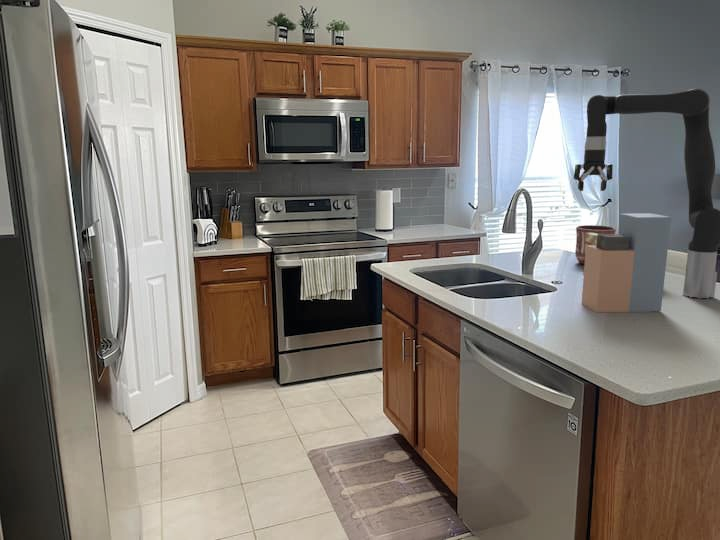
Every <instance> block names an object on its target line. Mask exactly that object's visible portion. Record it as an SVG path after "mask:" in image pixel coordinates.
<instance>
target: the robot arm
mask: <svg viewBox="0 0 720 540" xmlns="http://www.w3.org/2000/svg"><path fill="white" fill-rule="evenodd" d="M710 101H711V100H710V95H709V94H708V93H707V92H706V90H703V89H701V88H691V89H688V90H684V91H680V92H674V93H664V94H663V93H662V94H661V93H659V94H658V93H657V94H653V93H651V94H650V93H634V94H632V93H631V94H628V93H627V94H620V95H610V96H609V95H601V94H595V95H592V96H591V97H590V98H589V99H588V102H587V106H586V119H587V125H586V126H587V127H586V138H585V143H584V154H583V155H584V157H583V164H580V163H576V164H575V167H574V172H573V180H576V181H577V182H578V185H577V189H578V190H579V192H583V191H584V188H585V187H584V184H585V179H586V178H587V177H589V176H597V177H599V178H600V179H601V181H600V192H604V191H605V190H606V189H607V183H608V181H611V180H612V179H613V171H614V170H613V168H614V167H613V164H612V163H607V164H605V161H606V152H607V151H606V149H607V132H608V131H607V129H608V123H607V121H606V117H607V115H614V114H617V115H619V114H620V115H635V114H636V115H638V114H640V115H641V114H651V113H672V114H679V115H682V119H683V125H684V131H685V137H684V145H683V147H684V148H683V149H684V151H683V152H684V153H683V154H684V157H683V159H684V166H685V167H684V169H685V174H686V176H685V177H686V184H687V190H688V222H689V224H690V227H692V229H693V233H692V235H693V236H692V239H691V241H689V242H688V247H687V254H686V265H685V273H684V280H683V281H684V282H683V289H682V295H683V296H684V297H688V296H689V298H692V297H697V298H696V299H702V298H706V299H710V298H709V297H711V298H715V295H716V294H715V293H716V286H717V277H718V272H717V271H716V265H717V256H718V250H719V246H720V210H719V209H718V208H715V207H714V205H713V204H714V203H713V197H712V187H713V183H714V180H715V175H716V158H715V157H716V156H715V151H714V144H713V139H712V134H711V131H710V122H709V121H710V120H709V119H710V117H709V116H710V114H709V113H710V103H711V102H710ZM582 169H583V171H582ZM603 170H606V173H605V172H604V171H603ZM581 171H582V173H581Z"/></svg>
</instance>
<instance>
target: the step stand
mask: <svg viewBox="0 0 720 540" xmlns="http://www.w3.org/2000/svg"><path fill="white" fill-rule="evenodd" d="M671 220H672V217H671V216H669V215H667V216H666V215H662V214H661V215H660V214H656V213H649V212H648V213H643V212H642V213H641V212H640V213H619V220H618V221H619V222H618V229H617V230H618V231H617V232H618V233H617V234H622V235H625V236H629V248H628V250H602V249H599V248H596V246H597V245H586V253H585V265H583V267H584V268H583V269H584V270H583V278H582V279H583V281H582V293H581V295H582V296H581V304H582V305H584V306H585V307H587V308H589V309H590V310H592V311H594V312H595V313H646V312H647V313H648V312H650V311H661V312H662V306H663V305H662V304H663V297H664V296H663V294H664V289H665V279H666V277H665V276H666V268H667V259H668V248H669V240H670V231H671V230H670V229H671V225H672V224H671V223H672V221H671ZM650 313H651V312H650Z"/></svg>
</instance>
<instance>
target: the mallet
mask: <svg viewBox="0 0 720 540" xmlns="http://www.w3.org/2000/svg"><path fill="white" fill-rule="evenodd" d="M585 241H587V242H590V243H593V244H596V245H597V246H596V248H599V249H602V250H628V248H629V236H625V235H622V234H618V233H615V234H597V233H586V236H585Z"/></svg>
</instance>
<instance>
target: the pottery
mask: <svg viewBox="0 0 720 540" xmlns="http://www.w3.org/2000/svg"><path fill="white" fill-rule="evenodd" d="M575 230H576V231H575V232H576V234H575V235H576V238H575V239H576V240H575V241H576V243H575V257H576V260H577V262H578V263H579V264H580V265H582V266H585V253H586V245H596V244H593V243H590V242H587V241H585V236H586V233H597V234H616V230H617V228H615V227H612V226H607V225H592V224H591V225H590V224H589V225H587V224H586V225H579V226H578V225H577V226H576V229H575Z"/></svg>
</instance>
